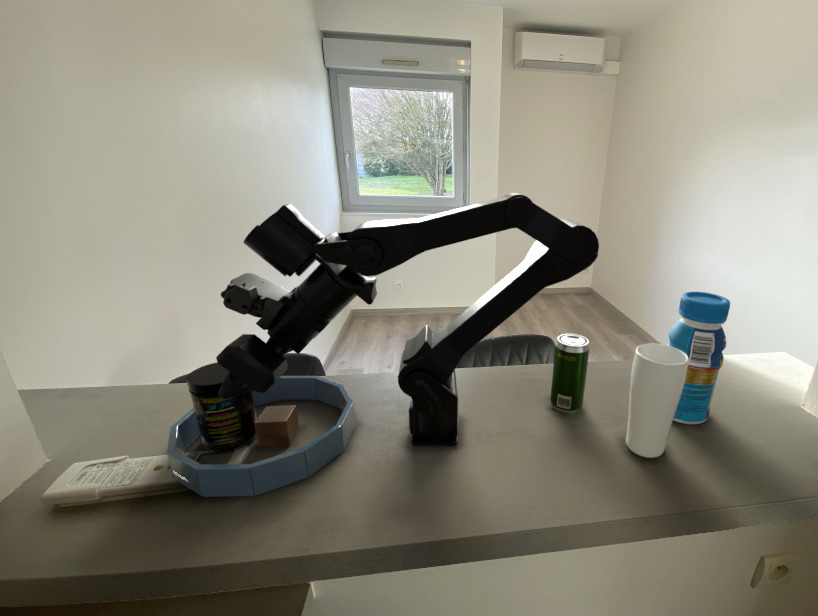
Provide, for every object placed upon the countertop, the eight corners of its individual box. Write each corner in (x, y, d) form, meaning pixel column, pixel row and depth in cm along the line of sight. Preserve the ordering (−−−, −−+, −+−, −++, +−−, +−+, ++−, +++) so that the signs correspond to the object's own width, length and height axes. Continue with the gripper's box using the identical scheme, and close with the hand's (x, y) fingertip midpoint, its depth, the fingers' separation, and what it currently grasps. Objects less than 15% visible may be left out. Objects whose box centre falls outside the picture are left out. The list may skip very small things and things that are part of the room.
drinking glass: (634, 427, 63) (649, 338, 58) (677, 448, 59) (698, 354, 54) (611, 446, 59) (625, 351, 54) (655, 471, 54) (676, 370, 49)
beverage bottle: (643, 407, 69) (664, 294, 62) (671, 392, 73) (693, 286, 67) (691, 433, 62) (720, 310, 55) (718, 415, 67) (748, 300, 60)
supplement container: (267, 438, 57) (254, 372, 54) (210, 461, 53) (193, 391, 49) (250, 418, 62) (238, 356, 58) (197, 438, 57) (180, 371, 53)
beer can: (582, 416, 65) (590, 348, 61) (548, 412, 66) (554, 344, 62) (582, 399, 70) (590, 335, 66) (551, 395, 71) (556, 331, 67)
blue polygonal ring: (368, 396, 68) (366, 375, 67) (324, 494, 48) (320, 467, 47) (233, 397, 67) (229, 375, 65) (130, 498, 47) (120, 470, 45)
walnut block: (299, 428, 60) (296, 405, 58) (290, 446, 56) (286, 421, 55) (270, 429, 59) (266, 406, 58) (259, 447, 56) (254, 422, 54)
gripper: (296, 240, 58) (228, 312, 60) (219, 274, 40) (129, 373, 43) (357, 295, 61) (290, 360, 64) (310, 348, 43) (221, 435, 46)
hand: (241, 377), depth 54 cm, fingers open, 9 cm apart
